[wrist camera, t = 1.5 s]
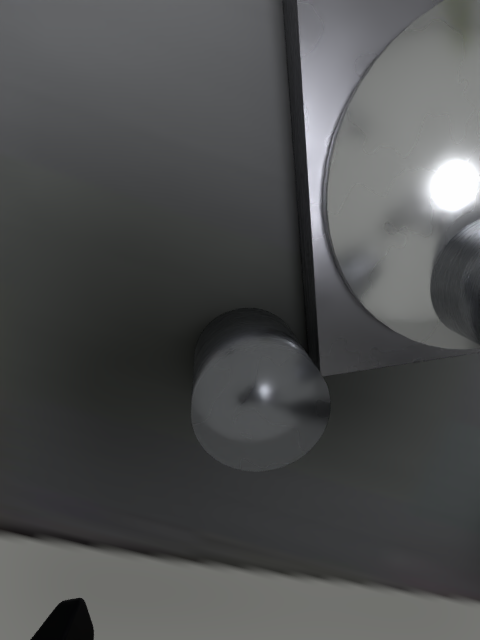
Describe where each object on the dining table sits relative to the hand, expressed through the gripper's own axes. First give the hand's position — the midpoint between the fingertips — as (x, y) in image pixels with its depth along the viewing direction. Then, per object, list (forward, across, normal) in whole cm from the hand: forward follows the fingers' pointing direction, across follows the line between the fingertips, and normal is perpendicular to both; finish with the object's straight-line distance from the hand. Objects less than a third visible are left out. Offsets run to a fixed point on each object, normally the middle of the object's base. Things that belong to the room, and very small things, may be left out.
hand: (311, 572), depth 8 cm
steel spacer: (+11, 0, 0) cm, 11 cm away
